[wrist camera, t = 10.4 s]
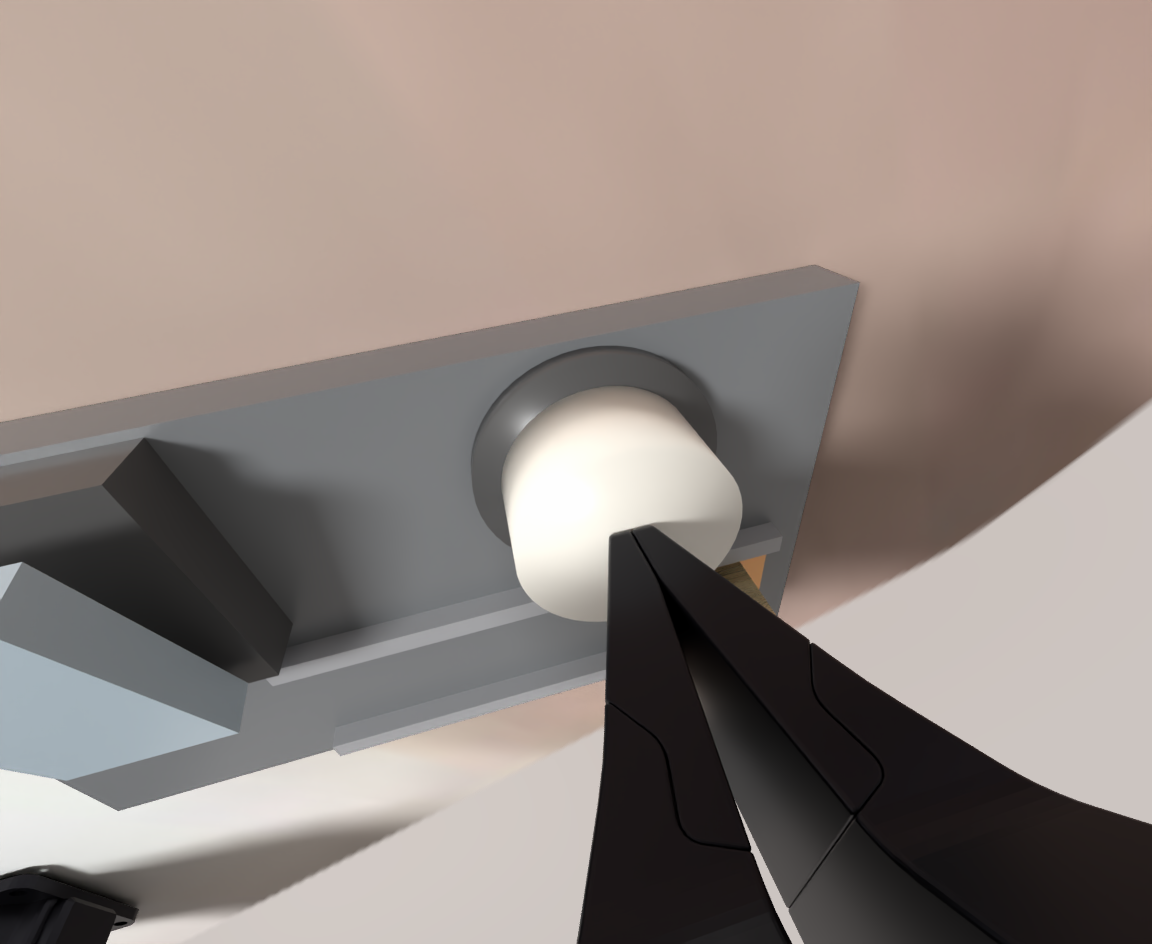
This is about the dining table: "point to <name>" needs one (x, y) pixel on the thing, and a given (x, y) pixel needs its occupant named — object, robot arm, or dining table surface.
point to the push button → (609, 493)
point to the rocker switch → (97, 684)
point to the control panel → (398, 510)
